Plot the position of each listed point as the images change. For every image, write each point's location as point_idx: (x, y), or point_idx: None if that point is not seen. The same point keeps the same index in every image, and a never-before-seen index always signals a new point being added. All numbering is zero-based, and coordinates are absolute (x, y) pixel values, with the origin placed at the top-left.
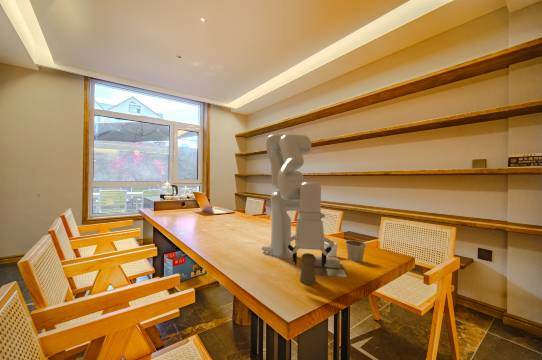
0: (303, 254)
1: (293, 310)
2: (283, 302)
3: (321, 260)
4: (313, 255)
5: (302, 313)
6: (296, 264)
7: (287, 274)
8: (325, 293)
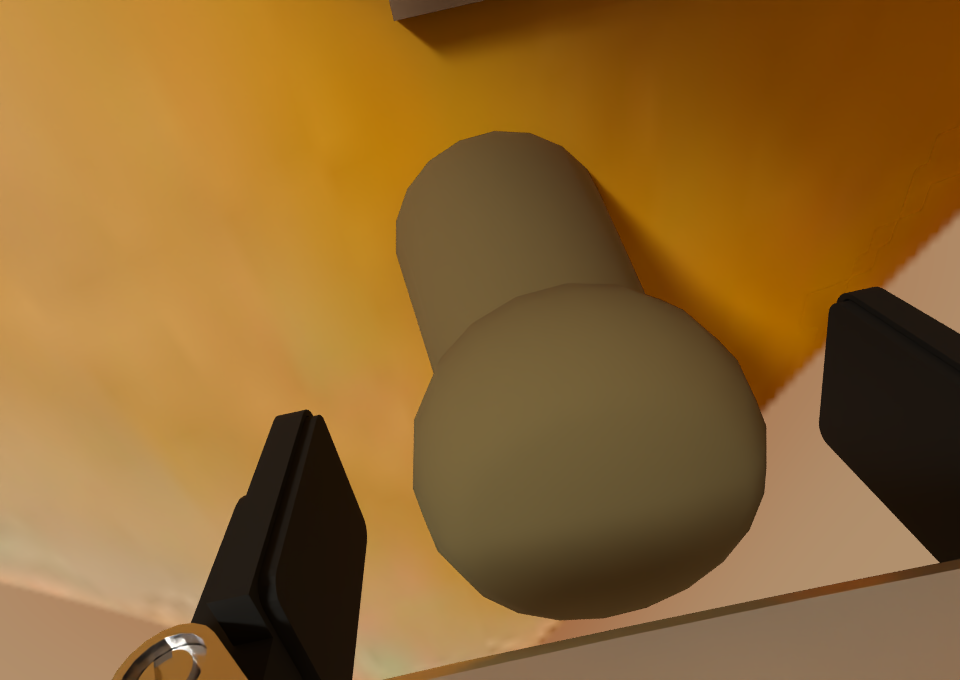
0: (481, 560)
1: (468, 638)
2: (371, 598)
3: (874, 331)
4: (743, 515)
5: (530, 640)
6: (365, 534)
7: (114, 9)
8: None
